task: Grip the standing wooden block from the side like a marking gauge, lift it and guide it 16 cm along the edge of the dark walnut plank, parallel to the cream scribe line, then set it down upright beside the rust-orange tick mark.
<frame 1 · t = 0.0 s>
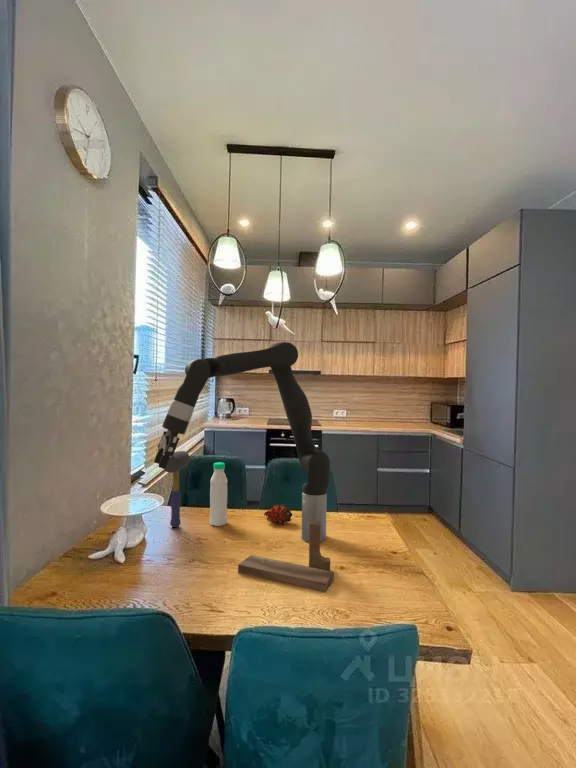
hand: (159, 465, 130), 31 cm above the table, tool tilted 20°, fingers open, 8 cm apart
wooden block: (319, 571, 128), on the table
walnut plank: (285, 576, 124), on the table
rubber mallet: (175, 527, 165), on the table
water bottle: (218, 524, 170), on the table
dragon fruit: (278, 524, 171), on the table
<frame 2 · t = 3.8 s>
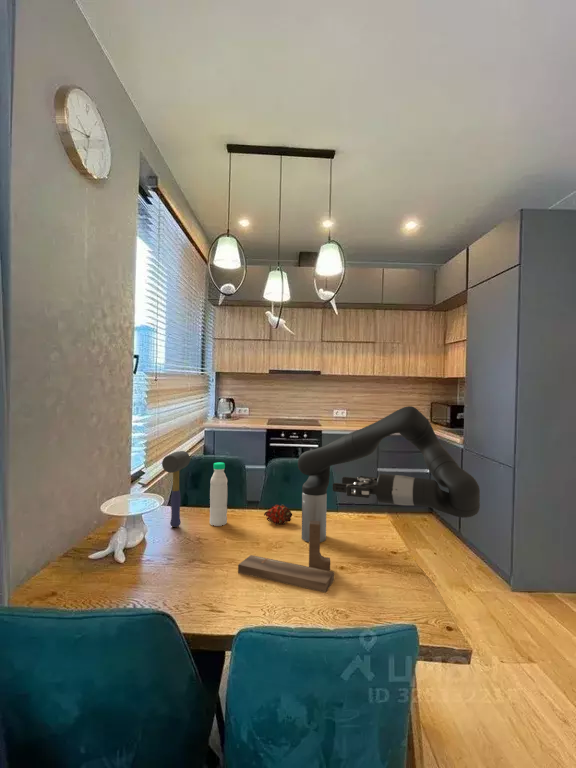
hand: (338, 483, 116), 30 cm above the table, tool horizontal, fingers open, 8 cm apart
nothing on the table moved.
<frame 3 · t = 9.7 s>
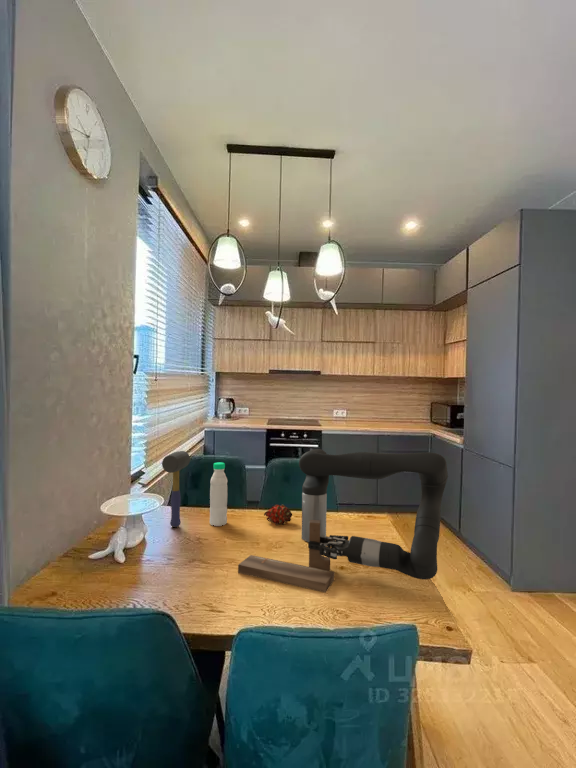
hand: (311, 541, 129), 9 cm above the table, tool horizontal, fingers closed on wooden block, 4 cm apart
wooden block: (319, 571, 128), on the table, touching gripper
everything else where it was.
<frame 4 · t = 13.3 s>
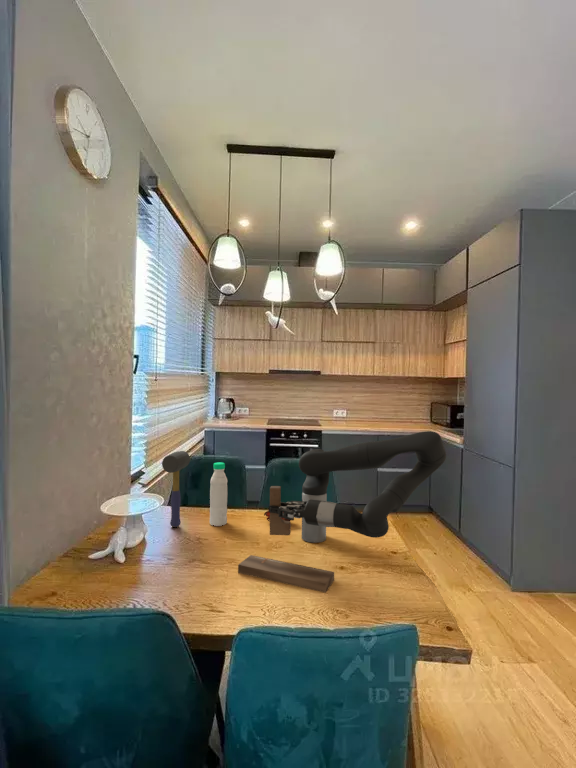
hand: (272, 506, 135), 18 cm above the table, tool horizontal, fingers closed on wooden block, 4 cm apart
wooden block: (280, 534, 134), point 9 cm above the table, touching gripper
everything else where it was.
when the fingers open (9 cm above the table, at t = 16.8 s): wooden block stays where it is, on the table.
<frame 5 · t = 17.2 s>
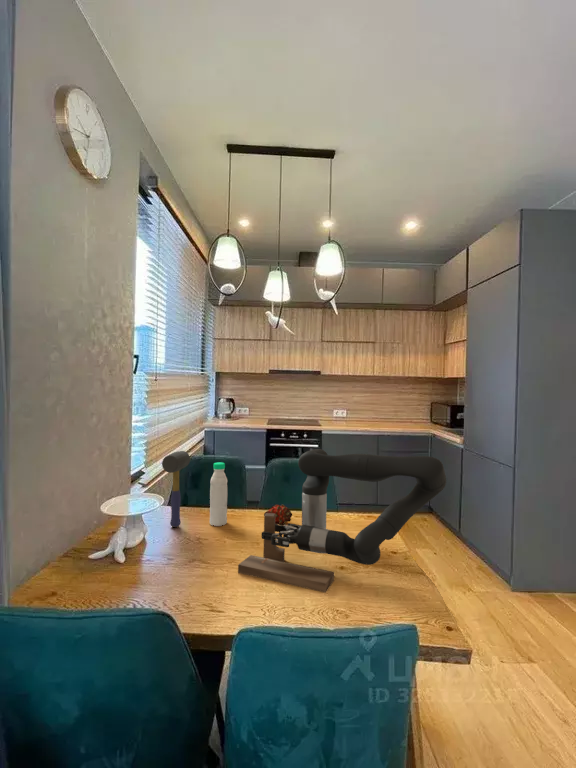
hand: (267, 531, 136), 10 cm above the table, tool horizontal, fingers open, 7 cm apart
wooden block: (273, 561, 135), on the table
everything else where it was.
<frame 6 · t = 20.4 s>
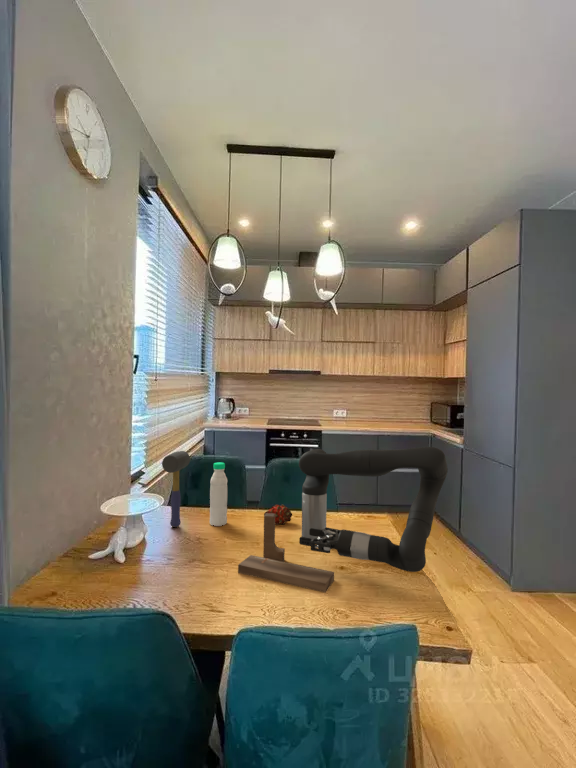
hand: (304, 535, 130), 10 cm above the table, tool horizontal, fingers open, 8 cm apart
nothing on the table moved.
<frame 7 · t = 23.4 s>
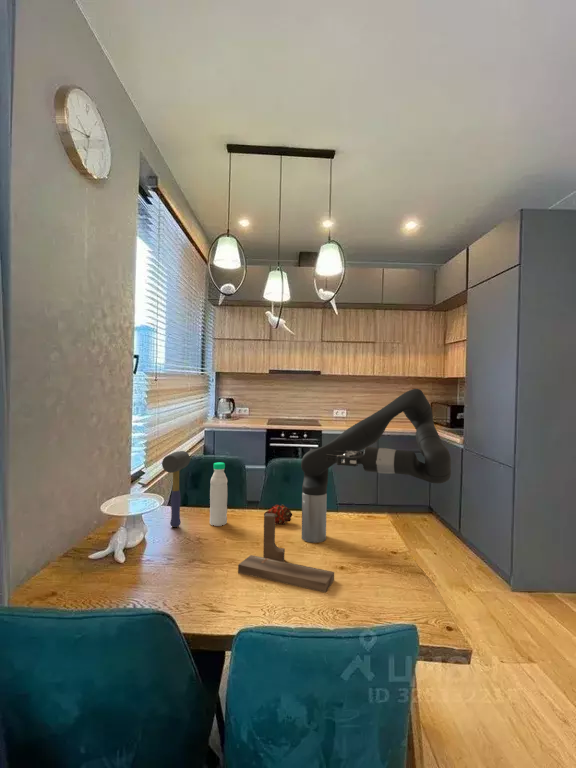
hand: (329, 455, 133), 35 cm above the table, tool horizontal, fingers open, 8 cm apart
nothing on the table moved.
at the end: wooden block inside the target area (0.6 cm from its centre), on the table; wooden block tilted 0°; the gripper is holding nothing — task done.
